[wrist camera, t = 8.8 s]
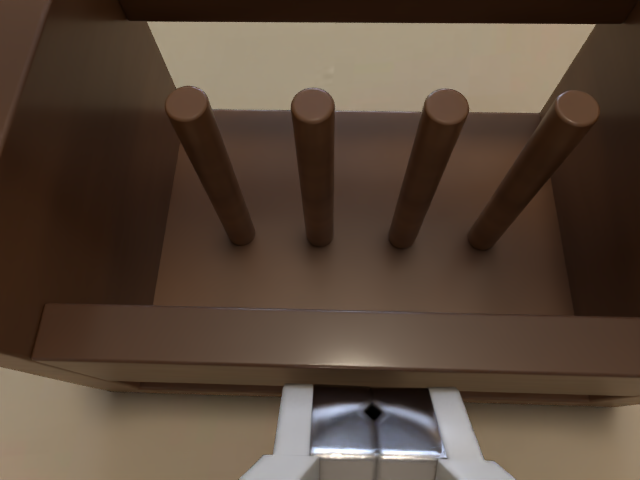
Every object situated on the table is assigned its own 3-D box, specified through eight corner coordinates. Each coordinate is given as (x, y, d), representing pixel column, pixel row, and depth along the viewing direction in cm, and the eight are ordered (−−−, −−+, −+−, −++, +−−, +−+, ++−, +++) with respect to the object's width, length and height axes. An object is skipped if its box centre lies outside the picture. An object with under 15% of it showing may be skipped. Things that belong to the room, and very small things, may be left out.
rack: (616, 407, 13) (981, 363, 6) (109, 391, 14) (-154, 334, 6) (563, 130, 17) (748, -118, 9) (159, 125, 17) (28, -116, 10)
